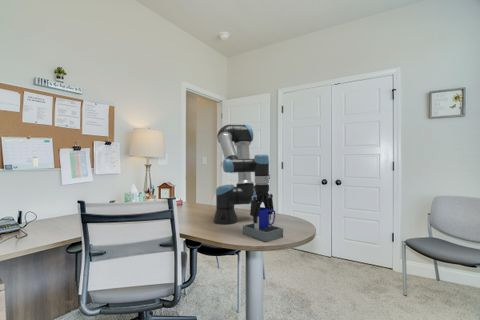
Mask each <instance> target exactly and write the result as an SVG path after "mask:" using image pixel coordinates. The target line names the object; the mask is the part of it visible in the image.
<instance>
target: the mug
mask: <svg viewBox="0 0 480 320" xmlns="http://www.w3.org/2000/svg"><path fill="white" fill-rule="evenodd" d="M268 212H272V213H273V219H272V222H270V224H269V223H268ZM257 217H259V229H264V228H266V227H267V224H268V225H274V223H275V219H276V210H268V209H267V208H265V206H264V207H262V206H260V209H259V213H258V216H257ZM252 220H253V219H252ZM253 223H254V220H253ZM253 223H252V224H253Z"/></svg>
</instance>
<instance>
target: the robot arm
mask: <svg viewBox="0 0 480 320" xmlns="http://www.w3.org/2000/svg"><path fill="white" fill-rule="evenodd" d="M216 137H217V141H218V143H219V144H220V147H221V150H222V153H223V156H224V159H223V161H222V170H223V172H224V173H227V174H229V173H230V174H232V173H233V174H234V173H237V178H238V182H236V185H235V184H224V185H219V186H217V187H216V190H215V191H216V192H215V197H216V198H215V200H216V201H215V203H216V206H215V208H216V209H215V213H214V217H213V223H215V224H218V225H231V224H235V223H237V222H238V217H237V213H236V210H235V205H250V211H249V212H250V213H249V214H250V216H251V217H252V220H254V229H257V230H259V217H257V216H258V213H259V209H260V207H261V205H262V203H263V206H264V207H265V208H267V209H268V210H274V203H273V196H274V195H273V193H270V184H269V183H270V167H269V166H270V160H269V155H268V154H255V155H254V158H251V156H250V145H251V144H252V142H253V141H254V130H253V127H252V126H251V125H248V124H226V125H224V126H222V127H221V128H220V129H219V130H218V132H217V136H216ZM252 173H254V181H253V180H252ZM274 211H275V210H274ZM272 215H274V212H268V223H269V224H271V219H272ZM267 227H270V225H268V224H267Z"/></svg>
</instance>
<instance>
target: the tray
mask: <svg viewBox="0 0 480 320" xmlns="http://www.w3.org/2000/svg"><path fill="white" fill-rule="evenodd" d="M242 235H244V236H247V237H251V238H252V239H256V240H258V241H262V242H264V243H268V242H271V241H275V240H277V239H282V238H284V228H282V227H279V226H275V225H274V224H272V225H270V227H266V228H264V229H259V230H257V229H254V223H249V224H245V225H242Z"/></svg>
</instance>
